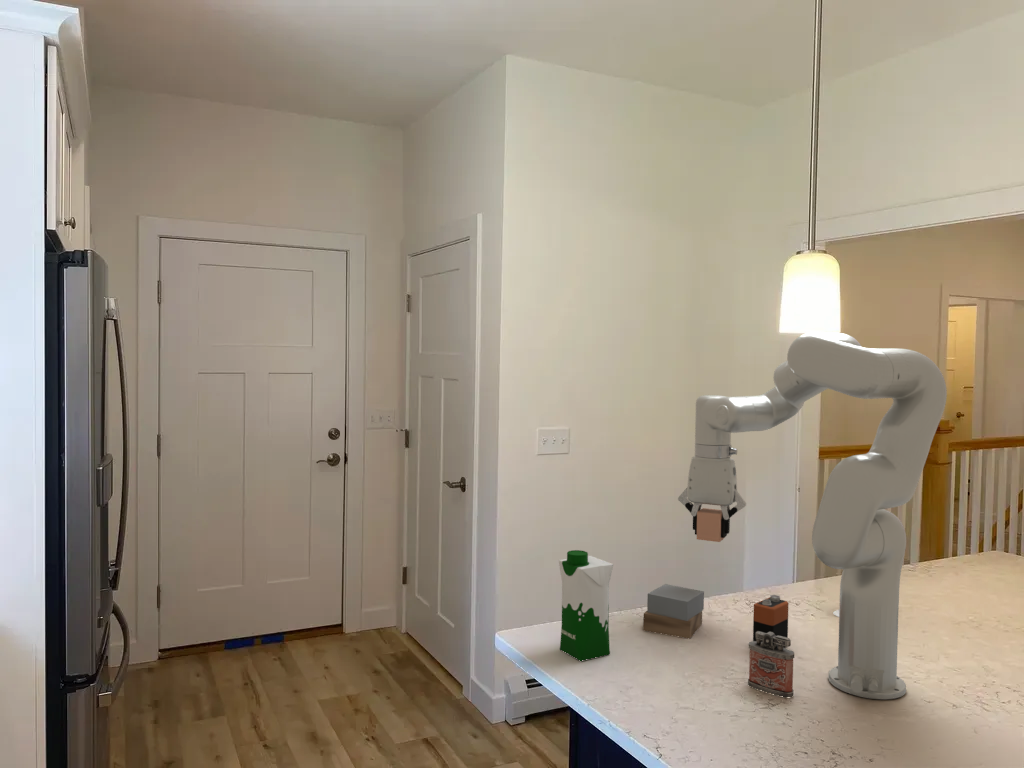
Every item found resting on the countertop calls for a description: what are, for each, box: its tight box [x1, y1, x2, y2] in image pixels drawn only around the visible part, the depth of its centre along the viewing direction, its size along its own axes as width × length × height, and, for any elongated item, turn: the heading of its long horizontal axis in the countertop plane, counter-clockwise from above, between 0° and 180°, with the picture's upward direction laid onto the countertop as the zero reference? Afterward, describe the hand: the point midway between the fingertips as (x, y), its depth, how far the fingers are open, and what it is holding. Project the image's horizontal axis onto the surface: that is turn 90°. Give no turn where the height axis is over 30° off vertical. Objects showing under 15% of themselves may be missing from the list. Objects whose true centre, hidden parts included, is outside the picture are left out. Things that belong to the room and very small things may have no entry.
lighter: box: [747, 631, 796, 698], centre depth 137 cm, size 8×3×10 cm, turn 47°
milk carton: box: [558, 549, 614, 662], centre depth 153 cm, size 9×9×20 cm
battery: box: [752, 594, 789, 648], centre depth 157 cm, size 4×7×10 cm, turn 134°
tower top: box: [646, 583, 705, 621], centre depth 168 cm, size 9×9×4 cm
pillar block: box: [696, 507, 725, 543], centre depth 171 cm, size 5×5×6 cm
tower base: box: [642, 610, 703, 640], centre depth 168 cm, size 10×10×4 cm
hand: (710, 534), depth 171 cm, fingers closed on pillar block, 4 cm apart
